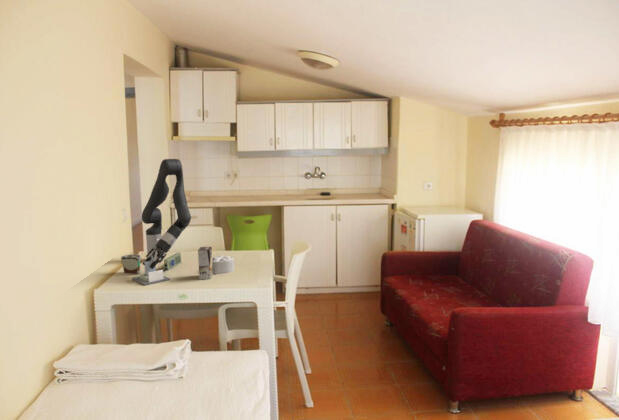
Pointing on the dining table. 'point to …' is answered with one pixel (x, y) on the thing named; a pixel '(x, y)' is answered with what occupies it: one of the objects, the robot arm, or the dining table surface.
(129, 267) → the food container
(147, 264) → the block
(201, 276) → the coffee box
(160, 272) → the charging dock
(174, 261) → the handheld radio
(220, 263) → the lumpy-topped squat cylinder
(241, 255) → the dining table surface
